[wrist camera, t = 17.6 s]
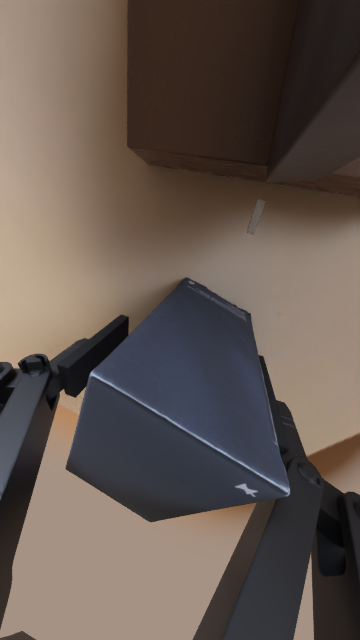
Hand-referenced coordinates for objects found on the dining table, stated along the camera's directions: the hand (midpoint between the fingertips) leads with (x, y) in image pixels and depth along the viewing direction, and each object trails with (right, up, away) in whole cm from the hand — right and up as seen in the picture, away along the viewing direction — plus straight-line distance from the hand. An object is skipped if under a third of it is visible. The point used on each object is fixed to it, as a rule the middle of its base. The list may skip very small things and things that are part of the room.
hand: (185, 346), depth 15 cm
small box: (0, +1, +1) cm, 1 cm away
